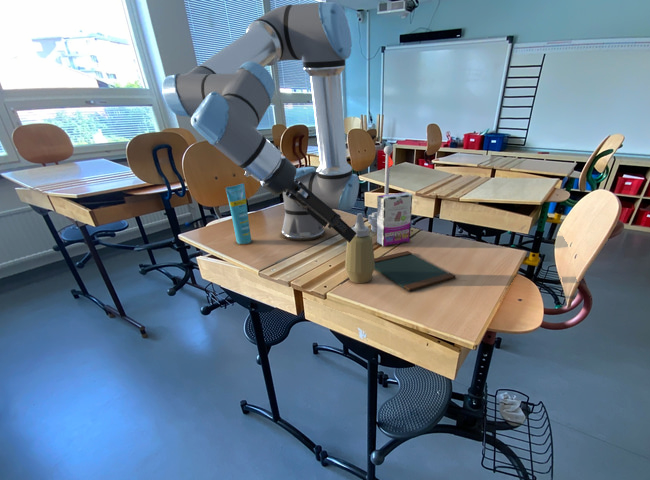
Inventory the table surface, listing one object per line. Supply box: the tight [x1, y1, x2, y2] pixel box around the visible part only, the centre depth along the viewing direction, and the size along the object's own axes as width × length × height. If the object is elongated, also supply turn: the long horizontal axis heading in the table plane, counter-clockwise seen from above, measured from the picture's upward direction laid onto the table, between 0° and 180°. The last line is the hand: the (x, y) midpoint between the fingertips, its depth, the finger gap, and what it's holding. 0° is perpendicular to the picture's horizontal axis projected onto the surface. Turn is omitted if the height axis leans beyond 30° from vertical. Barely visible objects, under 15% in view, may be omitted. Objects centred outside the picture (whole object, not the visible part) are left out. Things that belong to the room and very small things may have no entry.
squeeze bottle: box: [344, 212, 375, 284], centre depth 88 cm, size 8×8×18 cm
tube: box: [225, 182, 252, 245], centre depth 113 cm, size 7×5×19 cm, turn 157°
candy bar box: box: [376, 192, 413, 248], centre depth 115 cm, size 11×5×16 cm, turn 118°
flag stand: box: [368, 145, 394, 234], centre depth 125 cm, size 13×13×30 cm
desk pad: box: [374, 250, 456, 293], centre depth 98 cm, size 22×16×1 cm
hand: (339, 229), depth 83 cm, fingers open, 13 cm apart
